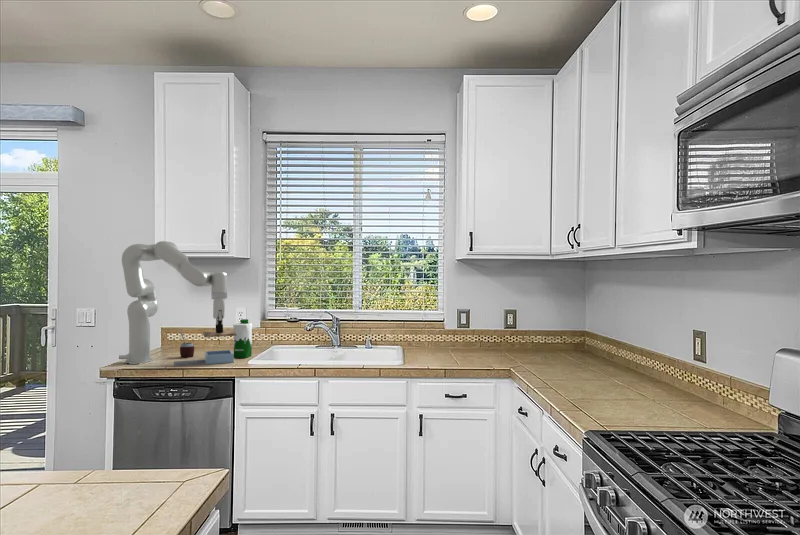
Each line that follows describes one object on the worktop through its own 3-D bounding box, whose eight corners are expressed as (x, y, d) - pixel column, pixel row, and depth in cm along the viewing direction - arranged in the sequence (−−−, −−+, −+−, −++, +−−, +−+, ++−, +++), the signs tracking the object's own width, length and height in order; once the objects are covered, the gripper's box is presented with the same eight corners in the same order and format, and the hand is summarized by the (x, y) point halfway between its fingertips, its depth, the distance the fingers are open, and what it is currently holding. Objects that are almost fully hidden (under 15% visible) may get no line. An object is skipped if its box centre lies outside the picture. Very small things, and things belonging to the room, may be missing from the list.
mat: (173, 367, 247) (173, 366, 247) (173, 362, 260) (173, 361, 260) (204, 365, 253) (204, 364, 253) (203, 360, 265) (203, 359, 265)
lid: (204, 337, 251) (204, 325, 251) (202, 333, 265) (202, 322, 265) (236, 335, 257) (236, 323, 257) (233, 332, 271) (233, 320, 271)
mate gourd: (195, 358, 271) (195, 330, 271) (179, 360, 267) (179, 331, 267) (192, 356, 278) (192, 329, 278) (177, 358, 273) (177, 329, 273)
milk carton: (253, 355, 281) (253, 319, 281) (246, 358, 272) (246, 321, 272) (238, 355, 282) (238, 319, 282) (231, 358, 273) (231, 320, 273)
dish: (206, 365, 252) (206, 355, 252) (204, 361, 264) (204, 351, 264) (233, 363, 258) (233, 353, 258) (231, 359, 270) (231, 349, 270)
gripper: (210, 295, 267) (210, 330, 267) (212, 297, 252) (212, 334, 252) (225, 295, 270) (225, 330, 270) (228, 296, 255) (228, 333, 255)
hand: (219, 331), depth 261 cm, fingers closed on lid, 2 cm apart
